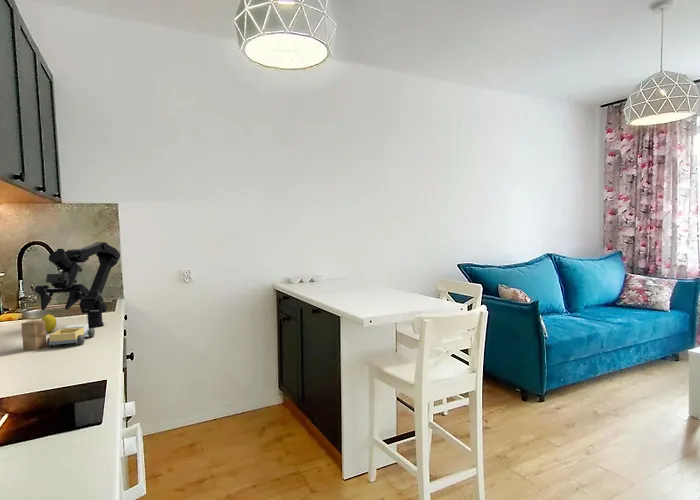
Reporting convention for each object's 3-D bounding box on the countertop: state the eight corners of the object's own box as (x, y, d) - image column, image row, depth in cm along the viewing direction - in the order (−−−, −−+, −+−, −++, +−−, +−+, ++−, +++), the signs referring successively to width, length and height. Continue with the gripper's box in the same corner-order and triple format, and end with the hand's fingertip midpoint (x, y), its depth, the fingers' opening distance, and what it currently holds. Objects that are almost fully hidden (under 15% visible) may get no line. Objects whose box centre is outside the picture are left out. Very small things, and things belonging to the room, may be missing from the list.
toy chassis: (64, 337, 173) (63, 325, 173) (95, 335, 176) (94, 322, 175) (45, 349, 157) (44, 335, 157) (80, 346, 160) (79, 332, 160)
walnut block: (34, 346, 162) (32, 320, 161) (46, 346, 161) (44, 320, 161) (23, 350, 157) (21, 323, 156) (36, 350, 156) (34, 323, 156)
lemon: (60, 330, 185) (58, 312, 184) (50, 334, 180) (48, 315, 179) (48, 330, 186) (47, 312, 185) (38, 334, 180) (36, 315, 180)
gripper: (33, 265, 168) (16, 300, 159) (80, 264, 168) (66, 299, 160) (49, 280, 177) (35, 314, 169) (94, 278, 178) (82, 312, 169)
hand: (54, 309), depth 166 cm, fingers open, 9 cm apart
